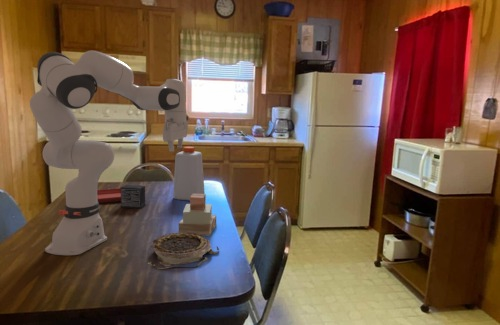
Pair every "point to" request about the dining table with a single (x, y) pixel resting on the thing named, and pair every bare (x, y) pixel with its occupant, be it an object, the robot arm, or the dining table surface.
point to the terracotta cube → (197, 201)
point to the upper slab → (197, 215)
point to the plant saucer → (109, 195)
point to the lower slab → (198, 227)
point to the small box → (132, 196)
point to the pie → (181, 248)
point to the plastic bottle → (188, 174)
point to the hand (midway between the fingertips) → (175, 149)
